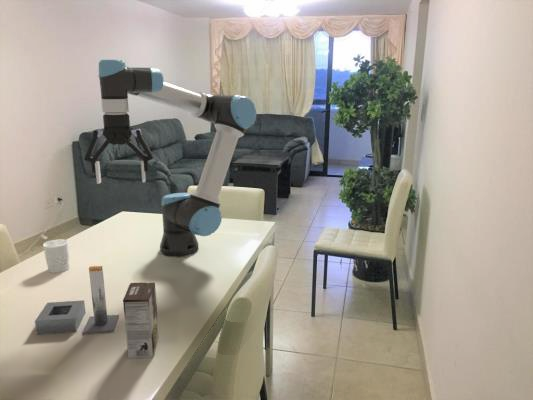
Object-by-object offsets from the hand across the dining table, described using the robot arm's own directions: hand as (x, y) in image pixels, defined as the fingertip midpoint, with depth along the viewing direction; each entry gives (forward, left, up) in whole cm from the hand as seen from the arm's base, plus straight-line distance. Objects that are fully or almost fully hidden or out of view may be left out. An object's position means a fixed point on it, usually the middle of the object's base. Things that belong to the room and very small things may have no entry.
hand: (121, 182), depth 136 cm
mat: (+4, +26, -35) cm, 43 cm away
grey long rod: (+4, +26, -34) cm, 43 cm away
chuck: (+15, +23, -35) cm, 44 cm away
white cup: (+27, -15, -35) cm, 47 cm away
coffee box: (-9, +38, -35) cm, 52 cm away
